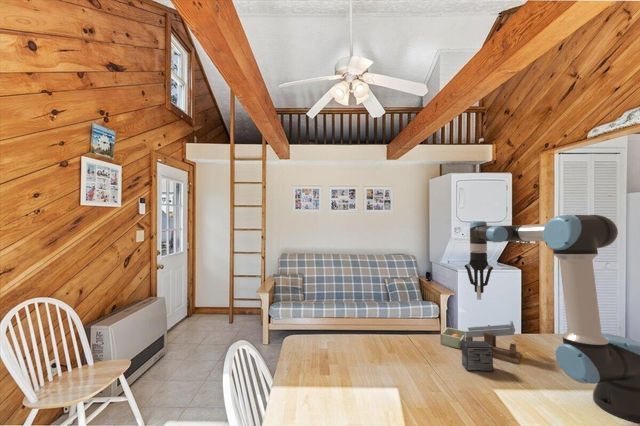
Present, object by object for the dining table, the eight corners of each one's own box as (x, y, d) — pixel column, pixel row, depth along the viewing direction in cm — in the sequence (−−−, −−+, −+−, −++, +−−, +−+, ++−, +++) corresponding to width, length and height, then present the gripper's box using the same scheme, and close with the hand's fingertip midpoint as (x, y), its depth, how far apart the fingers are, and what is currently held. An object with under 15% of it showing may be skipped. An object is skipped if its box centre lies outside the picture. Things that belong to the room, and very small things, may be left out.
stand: (518, 363, 131) (518, 339, 131) (461, 349, 145) (460, 327, 145) (520, 354, 140) (520, 331, 140) (466, 341, 154) (466, 320, 154)
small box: (486, 364, 131) (486, 340, 131) (493, 372, 124) (493, 347, 124) (461, 363, 132) (461, 339, 132) (466, 371, 125) (466, 346, 125)
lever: (513, 335, 133) (510, 325, 134) (465, 338, 145) (462, 329, 146) (516, 326, 144) (513, 316, 145) (471, 329, 156) (469, 320, 157)
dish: (460, 349, 145) (459, 338, 145) (440, 344, 151) (440, 333, 151) (465, 341, 154) (465, 331, 154) (446, 337, 160) (446, 327, 160)
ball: (459, 344, 149) (458, 335, 149) (451, 343, 151) (449, 335, 152) (461, 341, 152) (460, 333, 152) (453, 340, 154) (451, 332, 155)
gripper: (494, 251, 151) (495, 299, 151) (465, 250, 159) (466, 295, 159) (492, 253, 145) (492, 302, 145) (462, 251, 153) (463, 298, 153)
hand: (479, 299), depth 152 cm, fingers closed
